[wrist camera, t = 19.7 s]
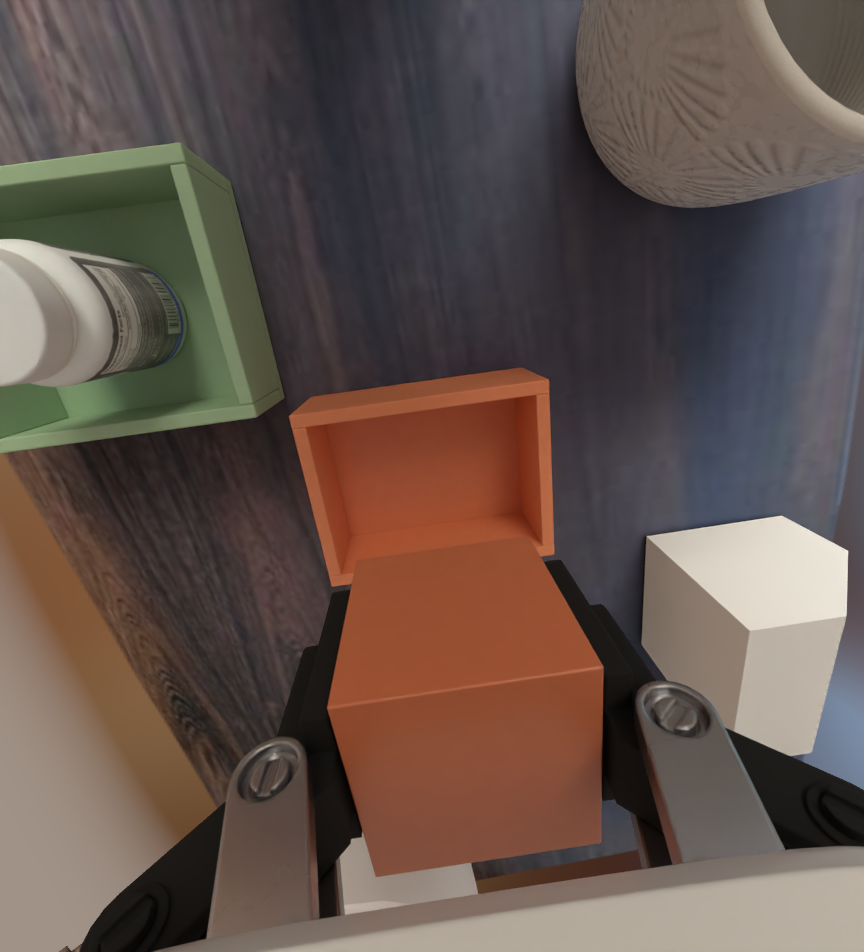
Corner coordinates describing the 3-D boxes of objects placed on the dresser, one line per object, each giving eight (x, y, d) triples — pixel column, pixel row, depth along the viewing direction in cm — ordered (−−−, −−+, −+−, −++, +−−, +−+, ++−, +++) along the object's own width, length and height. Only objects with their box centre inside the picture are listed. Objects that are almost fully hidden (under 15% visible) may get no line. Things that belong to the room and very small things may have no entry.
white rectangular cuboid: (638, 713, 32) (715, 846, 24) (646, 536, 26) (750, 630, 19) (750, 696, 32) (865, 822, 24) (781, 515, 27) (942, 601, 19)
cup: (451, 820, 35) (471, 1034, 24) (294, 816, 34) (245, 1040, 23) (478, 705, 31) (515, 905, 20) (299, 696, 29) (242, 904, 19)
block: (355, 559, 11) (325, 708, 7) (528, 534, 11) (604, 666, 7) (385, 691, 13) (375, 879, 8) (536, 669, 13) (602, 844, 8)
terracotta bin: (310, 396, 22) (288, 415, 18) (521, 367, 23) (549, 379, 18) (343, 541, 26) (331, 587, 21) (529, 514, 26) (554, 554, 21)
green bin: (-23, 214, 19) (-150, 185, 15) (230, 180, 19) (179, 141, 15) (71, 428, 22) (-9, 455, 18) (285, 398, 22) (257, 417, 18)
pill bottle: (73, 341, 20) (-135, 357, 12) (93, 240, 19) (-126, 187, 11) (176, 384, 21) (43, 425, 13) (202, 291, 20) (71, 275, 12)
